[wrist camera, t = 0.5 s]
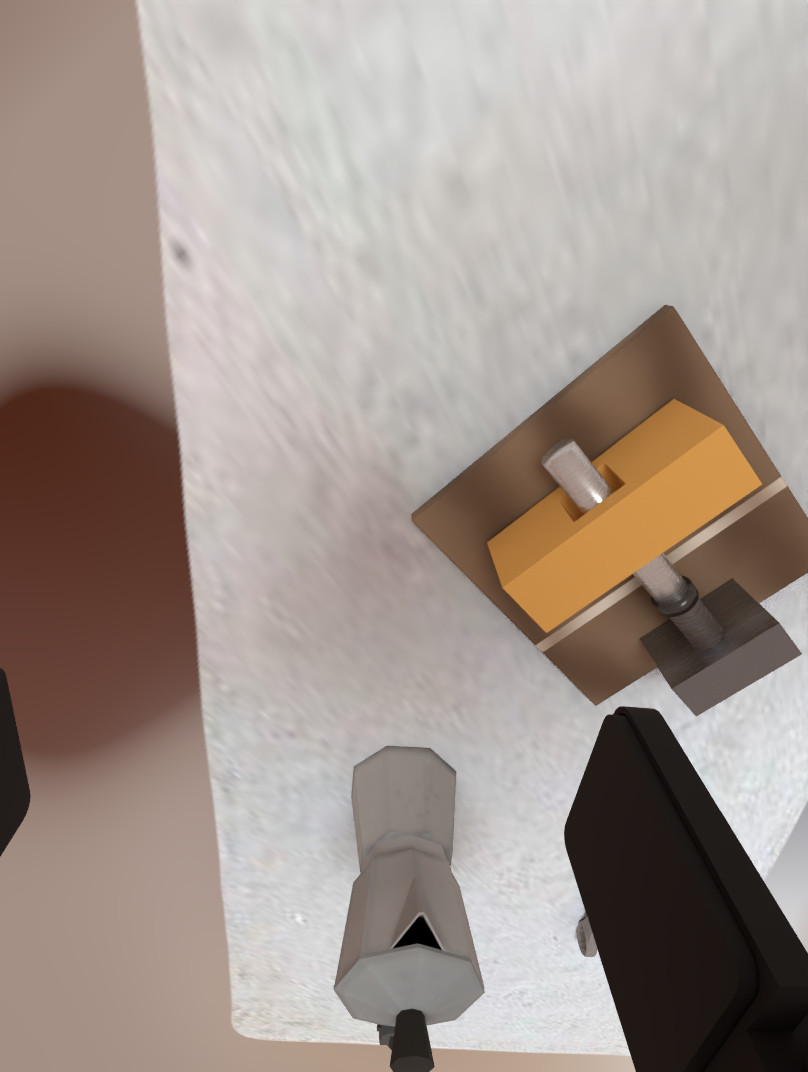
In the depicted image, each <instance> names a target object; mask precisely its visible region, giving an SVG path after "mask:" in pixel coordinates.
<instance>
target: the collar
mask: <svg viewBox="0 0 808 1072" xmlns="http://www.w3.org/2000/svg"><path fill="white" fill-rule="evenodd" d="M592 464H593V465H594V466H595V467H596V469H597V470H598V471H599V473H600V474H601V475H602V476H603V478H604V479H605V480H606V481H607V483H608V484H609V485H610V486H611V488H612V489H613V490H614V493H613V494H612V495H610V496H609V497H607V498H606V499H605V500H603V501H602V502H601V503H599V504H598V505H597V506H595V507H594V508H593V509H591V510H590V511H589V512H587V513H586V514H585V515H584V514H583V513H582V512H581V511H580V510H579V508H578V507H577V506H576V505H575V504H574V502H573V501H572V500H571V499H570V498H569V496H568V495H567V494H566V493H565V492H564V490H563V489H562V488H561V487H559V488H557V489H556V490H555V491H553V492H552V493H551V494H549V495H548V496H547V497H546V498H544V499H543V500H542V501H540V502H539V503H538V504H536V505H535V506H534V507H533V508H531V509H530V510H529V511H527V512H526V513H525V514H524V515H522V516H521V517H520V518H518V519H517V520H516V521H514V522H513V523H512V524H511V525H509V526H508V527H507V528H505V529H504V530H503V531H501V532H500V533H499V534H498V535H496V536H495V537H494V538H492V539H491V540H490V541H488V542H487V544H488V547H489V550H490V553H491V556H492V559H493V562H494V565H495V568H496V571H497V573H498V576H499V579H500V582H501V585H502V588H503V589H504V590H505V591H506V592H507V593H508V594H509V595H510V596H511V597H512V598H513V599H514V600H515V601H516V602H517V603H518V604H519V605H520V606H521V607H522V608H523V609H524V610H525V611H526V613H527V614H528V615H529V616H530V617H531V618H532V619H533V620H534V621H535V622H536V623H537V624H538V625H539V626H540V627H541V628H542V629H543V630H544V631H545V632H546V633H547V632H549V631H550V630H552V629H553V628H555V627H556V626H558V625H559V624H560V623H562V622H563V621H565V620H566V619H568V618H569V617H571V616H572V615H574V614H575V613H576V612H578V611H579V610H581V609H582V608H584V607H585V606H587V605H588V604H589V603H591V602H592V601H594V600H595V599H597V598H598V597H600V596H601V595H603V594H604V593H605V592H607V591H608V590H610V589H611V588H613V587H614V586H616V585H617V584H618V583H620V582H621V581H623V580H624V579H626V578H627V577H629V576H630V575H632V574H633V573H634V572H636V571H637V570H639V569H640V568H642V567H643V566H645V565H646V564H647V563H649V562H650V561H652V560H653V559H655V558H656V557H658V556H659V555H661V554H662V553H663V552H665V551H666V550H668V549H669V548H671V547H672V546H674V545H675V544H676V543H678V542H679V541H681V540H682V539H684V538H685V537H687V536H688V535H690V534H691V533H692V532H694V531H695V530H697V529H698V528H700V527H701V526H703V525H704V524H705V523H707V522H708V521H710V520H711V519H713V518H714V517H716V516H717V515H719V514H720V513H721V512H723V511H724V510H726V509H727V508H729V507H730V506H732V505H733V504H734V503H736V502H737V501H739V500H740V499H742V498H743V497H745V496H746V495H748V494H749V493H750V492H752V491H753V490H755V489H756V488H758V487H759V486H761V485H762V483H761V481H760V480H759V478H758V477H757V475H756V474H755V472H754V471H753V469H752V467H751V466H750V464H749V463H748V461H747V460H746V458H745V457H744V455H743V454H742V452H741V451H740V449H739V448H738V446H737V445H736V443H735V442H734V440H733V438H732V437H731V435H730V434H729V432H728V431H727V429H726V428H725V426H724V425H723V424H721V423H719V422H717V421H715V420H713V419H711V418H710V417H708V416H706V415H704V414H702V413H700V412H698V411H696V410H694V409H692V408H691V407H689V406H687V405H685V404H683V403H681V402H679V401H677V400H675V399H673V400H672V401H670V402H669V403H668V404H666V405H665V406H664V407H662V408H661V409H660V410H659V411H657V412H656V413H655V414H653V415H652V416H651V417H649V418H648V419H647V420H646V421H644V422H643V423H642V424H640V425H639V426H638V427H636V428H635V429H634V430H633V431H631V432H630V433H629V434H627V435H626V436H625V437H624V438H622V439H621V440H620V441H618V442H617V443H616V444H614V445H613V446H612V447H611V448H609V449H608V450H607V451H605V452H604V453H603V454H601V455H600V456H599V457H598V458H596V459H595V460H594V461H592Z"/></svg>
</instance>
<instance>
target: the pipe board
mask: <svg viewBox="0 0 808 1072" xmlns="http://www.w3.org/2000/svg"><path fill="white" fill-rule="evenodd" d="M673 399H675V400H677V401H679V402H681V403H683V404H685V405H687V406H689V407H691V408H692V409H694V410H696V411H698V412H700V413H702V414H704V415H706V416H708V417H710V418H711V419H713V420H715V421H717V422H719V423H721V424H723V425H724V426H725V428H726V429H727V431H728V432H729V434H730V435H731V437H732V438H733V440H734V442H735V443H736V445H737V446H738V448H739V449H740V451H741V452H742V454H743V455H744V457H745V458H746V460H747V461H748V463H749V464H750V466H751V467H752V469H753V471H754V472H755V474H756V475H757V477H758V478H759V480H760V481H761V483H762V485H761V486H759V487H758V488H756V489H755V490H753V491H752V492H750V493H749V494H748V495H746V496H745V497H743V498H742V499H740V500H739V501H737V502H736V503H734V504H733V505H732V506H730V507H729V508H727V509H726V510H724V511H723V512H721V513H720V514H719V515H717V516H716V517H714V518H713V519H711V520H710V521H708V522H707V523H705V524H704V525H703V526H701V527H700V528H698V529H697V530H695V531H694V532H692V533H691V534H690V535H688V536H687V537H685V538H684V539H682V540H681V541H679V542H678V543H676V544H675V545H674V546H672V547H671V548H669V549H668V550H666V551H665V552H663V554H664V555H665V556H666V557H667V559H668V560H669V561H670V562H671V564H672V565H673V566H674V567H675V569H676V570H677V571H678V573H679V574H680V575H682V576H685V577H687V578H689V579H690V580H691V582H692V583H693V584H694V586H695V587H696V588H697V590H698V592H699V599H701V598H702V597H704V596H705V595H707V594H708V593H710V592H712V591H713V590H715V589H716V588H718V587H719V586H721V585H722V584H724V583H725V582H727V581H728V580H730V579H731V578H733V579H734V580H735V581H736V582H737V583H738V584H739V585H740V586H741V587H742V588H743V589H744V590H745V591H746V592H747V593H749V594H750V595H751V596H752V597H753V598H754V599H755V600H756V601H757V602H758V603H760V602H762V601H763V600H765V599H766V598H768V597H770V596H771V595H773V594H774V593H776V592H778V591H779V590H781V589H782V588H784V587H786V586H787V585H789V584H790V583H792V582H794V581H795V580H797V579H798V578H800V577H801V576H803V575H805V574H806V573H808V518H807V516H806V515H805V513H804V511H803V510H802V508H801V507H800V505H799V504H798V502H797V500H796V499H795V497H794V496H793V494H792V492H791V491H790V489H789V488H788V486H787V484H786V483H785V481H784V479H783V478H782V476H781V475H780V474H779V472H778V470H777V469H776V467H775V466H774V464H773V463H772V461H771V459H770V458H769V456H768V455H767V453H766V451H765V450H764V448H763V447H762V445H761V444H760V442H759V440H758V439H757V437H756V436H755V434H754V433H753V431H752V429H751V428H750V426H749V425H748V423H747V422H746V420H745V418H744V417H743V415H742V414H741V412H740V410H739V409H738V407H737V406H736V404H735V403H734V401H733V399H732V398H731V396H730V395H729V393H728V392H727V390H726V388H725V387H724V385H723V384H722V382H721V381H720V379H719V377H718V376H717V374H716V373H715V371H714V369H713V368H712V366H711V365H710V363H709V362H708V360H707V358H706V357H705V355H704V354H703V352H702V351H701V349H700V347H699V346H698V344H697V343H696V341H695V340H694V338H693V336H692V335H691V333H690V332H689V330H688V328H687V327H686V325H685V324H684V322H683V321H682V319H681V317H680V316H679V314H678V313H677V311H676V310H675V308H674V307H673V306H668V305H665V306H663V307H662V308H661V309H660V310H659V311H657V312H656V313H655V314H654V315H653V316H651V317H650V318H649V319H648V320H646V321H645V322H644V323H643V324H642V325H640V326H639V327H638V328H637V329H636V330H634V331H633V332H632V333H631V334H630V335H628V336H627V337H626V338H625V339H623V340H622V341H621V342H620V343H619V344H617V345H616V346H615V347H614V348H613V349H611V350H610V351H609V352H608V353H607V354H605V355H604V356H603V357H602V358H600V359H599V360H598V361H597V362H596V363H594V364H593V365H592V366H591V367H590V368H588V369H587V370H586V371H585V372H583V373H582V374H581V375H580V376H579V377H577V378H576V379H575V380H574V381H573V382H571V383H570V384H569V385H568V386H567V387H565V388H564V389H563V390H562V391H560V392H559V393H558V394H557V395H556V396H554V397H553V398H552V399H551V400H550V401H548V402H547V403H546V404H545V405H544V406H542V407H541V408H540V409H539V410H537V411H536V412H535V413H534V414H533V415H531V416H530V417H529V418H528V419H527V420H525V421H524V422H523V423H522V424H520V425H519V426H518V427H517V428H516V429H514V430H513V431H512V432H511V433H510V434H508V435H507V436H506V437H505V438H504V439H502V440H501V441H500V442H499V443H497V444H496V445H495V446H494V447H493V448H491V449H490V450H489V451H488V452H487V453H485V454H484V455H483V456H482V457H480V458H479V459H478V460H477V461H476V462H474V463H473V464H472V465H471V466H470V467H468V468H467V469H466V470H465V471H464V472H462V473H461V474H460V475H459V476H457V477H456V478H455V479H454V480H453V481H451V482H450V483H449V484H448V485H447V486H445V487H444V488H443V489H442V490H441V491H439V492H438V493H437V494H436V495H434V496H433V497H432V498H431V499H430V500H428V501H427V502H426V503H425V504H424V505H422V506H421V507H420V508H419V509H417V510H416V511H415V512H414V513H413V514H412V522H413V523H414V524H415V525H416V526H417V527H418V528H419V529H420V530H421V531H422V532H423V533H424V534H425V535H426V536H427V537H428V538H429V539H430V540H431V541H432V542H433V543H434V544H435V545H436V546H437V547H438V548H439V549H440V550H441V551H442V552H443V553H444V554H445V555H446V556H447V557H448V558H449V559H450V560H451V561H452V562H453V563H454V564H455V565H456V566H457V567H458V568H459V569H460V570H461V571H462V572H463V573H464V574H465V575H466V576H467V577H468V578H469V579H470V580H471V581H472V582H473V583H474V584H475V585H476V586H477V587H478V588H479V589H480V590H481V591H482V592H483V593H484V594H485V595H486V596H487V597H488V598H489V599H490V600H491V601H492V602H493V603H494V604H495V605H496V606H497V607H498V608H499V609H500V610H501V611H502V612H503V613H504V614H505V615H506V616H507V617H508V618H509V619H510V620H511V621H512V622H513V623H514V624H515V625H516V626H517V627H518V628H519V629H520V630H521V631H522V632H523V633H524V634H525V635H526V636H527V637H528V638H529V639H530V640H531V641H532V642H533V643H534V644H535V645H536V647H537V648H538V649H539V650H540V651H541V652H542V653H544V654H545V655H546V656H547V657H548V658H549V659H550V660H551V661H552V662H553V663H554V664H555V665H556V666H557V667H558V668H559V669H560V670H561V671H562V672H563V673H564V674H565V675H566V676H567V677H568V679H569V680H570V681H571V682H572V683H573V684H574V685H575V686H576V687H577V688H578V689H579V690H580V691H581V692H582V693H583V694H584V695H585V696H586V697H587V698H588V699H589V700H590V701H591V702H592V703H593V704H594V705H595V706H596V705H598V704H599V703H601V702H603V701H604V700H606V699H607V698H609V697H611V696H612V695H614V694H615V693H617V692H618V691H620V690H622V689H623V688H625V687H626V686H628V685H630V684H631V683H633V682H634V681H636V680H638V679H639V678H641V677H642V676H644V675H646V674H647V673H649V672H650V671H652V670H654V669H655V668H657V665H656V664H655V662H654V661H653V659H652V658H651V656H650V655H649V653H648V652H647V650H646V648H645V647H644V645H643V644H642V642H641V641H640V639H639V638H641V637H642V636H644V635H645V634H647V633H649V632H650V631H652V630H653V629H655V628H656V627H658V626H659V625H661V624H662V623H664V622H665V621H667V620H668V619H670V618H669V617H666V616H664V615H662V614H661V613H660V612H659V611H658V610H657V609H656V608H655V606H654V605H653V604H652V602H651V595H650V594H649V592H648V591H647V590H646V589H645V588H644V586H643V585H642V584H641V583H640V582H639V580H638V579H637V578H636V577H635V576H634V574H632V575H630V576H629V577H627V578H626V579H624V580H623V581H621V582H620V583H618V584H617V585H616V586H614V587H613V588H611V589H610V590H608V591H607V592H605V593H604V594H603V595H601V596H600V597H598V598H597V599H595V600H594V601H592V602H591V603H589V604H588V605H587V606H585V607H584V608H582V609H581V610H579V611H578V612H576V613H575V614H574V615H572V616H571V617H569V618H568V619H566V620H565V621H563V622H562V623H560V624H559V625H558V626H556V627H555V628H553V629H552V630H550V631H549V632H547V633H546V632H545V631H544V630H543V629H542V628H541V627H540V626H539V625H538V624H537V623H536V622H535V621H534V620H533V619H532V618H531V617H530V616H529V615H528V614H527V613H526V611H525V610H524V609H523V608H522V607H521V606H520V605H519V604H518V603H517V602H516V601H515V600H514V599H513V598H512V597H511V596H510V595H509V594H508V593H507V592H506V591H505V590H504V589H503V588H502V585H501V582H500V579H499V576H498V573H497V571H496V568H495V565H494V562H493V559H492V556H491V553H490V550H489V547H488V544H487V542H488V541H490V540H491V539H492V538H494V537H495V536H496V535H498V534H499V533H500V532H501V531H503V530H504V529H505V528H507V527H508V526H509V525H511V524H512V523H513V522H514V521H516V520H517V519H518V518H520V517H521V516H522V515H524V514H525V513H526V512H527V511H529V510H530V509H531V508H533V507H534V506H535V505H536V504H538V503H539V502H540V501H542V500H543V499H544V498H546V497H547V496H548V495H549V494H551V493H552V492H553V491H555V490H556V489H557V488H559V487H560V486H559V484H558V483H557V482H556V481H555V480H554V478H553V477H552V476H551V475H550V474H549V472H548V471H547V470H546V469H545V468H544V466H543V465H542V464H541V460H542V457H543V456H544V454H545V453H546V452H547V451H548V450H549V449H550V448H551V447H552V446H553V445H555V444H556V443H558V442H559V441H561V440H564V439H567V438H572V439H573V440H574V441H575V442H576V443H577V445H578V446H579V447H580V448H581V450H582V451H583V452H584V454H585V455H586V456H587V457H588V459H589V460H590V461H591V462H592V461H594V460H595V459H596V458H598V457H599V456H600V455H601V454H603V453H604V452H605V451H607V450H608V449H609V448H611V447H612V446H613V445H614V444H616V443H617V442H618V441H620V440H621V439H622V438H624V437H625V436H626V435H627V434H629V433H630V432H631V431H633V430H634V429H635V428H636V427H638V426H639V425H640V424H642V423H643V422H644V421H646V420H647V419H648V418H649V417H651V416H652V415H653V414H655V413H656V412H657V411H659V410H660V409H661V408H662V407H664V406H665V405H666V404H668V403H669V402H670V401H672V400H673Z"/></svg>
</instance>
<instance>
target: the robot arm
mask: <svg viewBox="0 0 808 1072" xmlns="http://www.w3.org/2000/svg"><path fill="white" fill-rule="evenodd" d="M29 803H30V790H29V784H28V780H27V775H26V770H25V765H24V760H23V755H22V751H21V746H20V741H19V736H18V731H17V726H16V721H15V717H14V712H13V707H12V702H11V697H10V692H9V687H8V683H7V678H6V674H5V672H4V671H3V669H1V668H0V856H1V855H2V853H3V851H4V850H5V848H6V847H7V845H8V843H9V842H10V840H11V839H12V837H13V835H14V834H15V832H16V830H17V829H18V827H19V826H20V824H21V823H22V821H23V819H24V817H25V816H26V813H27V810H28V807H29ZM564 839H565V846H566V850H567V853H568V856H569V860H570V863H571V866H572V869H573V872H574V876H575V879H576V882H577V885H578V888H579V892H580V895H581V898H582V901H583V904H584V907H585V911H586V914H587V917H588V920H589V923H590V927H591V930H592V933H593V936H594V939H595V943H596V946H597V949H598V952H599V955H600V958H601V962H602V965H603V968H604V971H605V974H606V978H607V981H608V984H609V987H610V990H611V994H612V997H613V1000H614V1003H615V1006H616V1009H617V1013H618V1016H619V1019H620V1022H621V1025H622V1029H623V1032H624V1035H625V1038H626V1041H627V1045H628V1048H629V1051H630V1054H631V1057H632V1060H633V1063H634V1067H635V1070H636V1072H808V953H807V952H806V950H805V948H804V947H803V945H802V943H801V942H800V940H799V938H798V937H797V935H796V933H795V932H794V930H793V928H792V927H791V925H790V924H789V922H788V920H787V919H786V917H785V915H784V914H783V912H782V911H781V909H780V907H779V906H778V904H777V902H776V901H775V899H774V898H773V896H772V894H771V893H770V891H769V889H768V888H767V886H766V884H765V883H764V881H763V879H762V878H761V876H760V875H759V873H758V871H757V870H756V868H755V866H754V865H753V863H752V861H751V860H750V858H749V857H748V855H747V853H746V852H745V850H744V848H743V847H742V845H741V843H740V842H739V840H738V839H737V837H736V835H735V834H734V832H733V830H732V829H731V827H730V825H729V824H728V822H727V821H726V819H725V817H724V816H723V814H722V812H721V811H720V810H719V808H718V806H717V805H716V803H715V801H714V800H713V798H712V797H711V795H710V793H709V792H708V790H707V788H706V787H705V785H704V783H703V782H702V780H701V779H700V777H699V775H698V774H697V772H696V770H695V769H694V767H693V765H692V764H691V762H690V761H689V759H688V757H687V756H686V754H685V752H684V751H683V749H682V747H681V746H680V744H679V743H678V741H677V739H676V738H675V736H674V734H673V733H672V731H671V729H670V728H669V726H668V725H667V723H666V721H665V720H664V718H663V716H662V715H661V714H660V713H659V711H657V710H655V709H650V708H637V707H624V706H623V707H619V708H617V709H616V710H615V712H614V714H613V715H607V716H606V717H605V719H604V721H603V723H602V726H601V729H600V731H599V734H598V737H597V740H596V742H595V745H594V748H593V750H592V753H591V756H590V759H589V761H588V764H587V767H586V770H585V772H584V775H583V778H582V780H581V783H580V786H579V789H578V791H577V794H576V797H575V799H574V802H573V805H572V808H571V810H570V813H569V816H568V818H567V821H566V824H565V830H564Z"/></svg>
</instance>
